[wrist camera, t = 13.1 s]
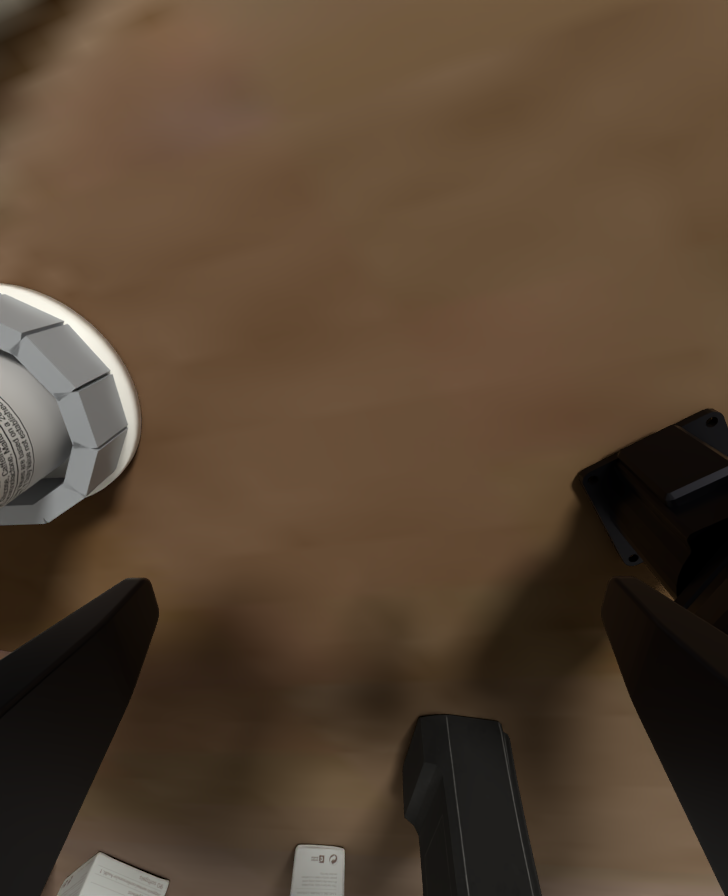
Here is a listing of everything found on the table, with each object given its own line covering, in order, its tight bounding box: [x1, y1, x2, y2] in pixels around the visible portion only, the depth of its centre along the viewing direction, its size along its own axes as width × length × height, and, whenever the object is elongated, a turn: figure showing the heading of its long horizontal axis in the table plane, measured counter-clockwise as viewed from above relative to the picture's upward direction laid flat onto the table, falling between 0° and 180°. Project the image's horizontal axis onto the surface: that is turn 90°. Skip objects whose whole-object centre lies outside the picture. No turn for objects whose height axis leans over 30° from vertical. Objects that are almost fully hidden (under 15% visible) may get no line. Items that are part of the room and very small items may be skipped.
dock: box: [0, 283, 142, 525], centre depth 20 cm, size 10×10×3 cm
